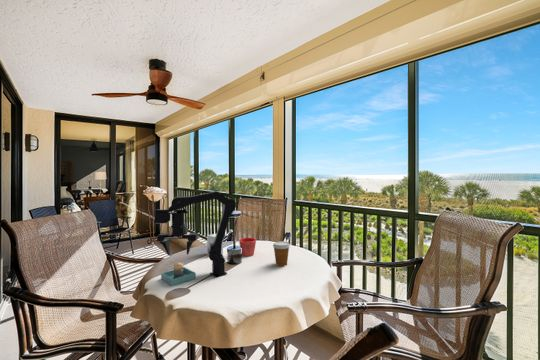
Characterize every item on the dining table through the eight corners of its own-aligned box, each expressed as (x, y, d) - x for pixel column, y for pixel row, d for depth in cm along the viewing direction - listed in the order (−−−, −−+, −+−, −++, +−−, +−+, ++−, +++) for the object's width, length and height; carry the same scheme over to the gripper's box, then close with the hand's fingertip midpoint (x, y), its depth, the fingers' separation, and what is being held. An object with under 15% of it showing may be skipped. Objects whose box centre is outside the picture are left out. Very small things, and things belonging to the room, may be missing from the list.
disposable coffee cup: (270, 266, 138) (270, 244, 138) (276, 260, 147) (276, 240, 147) (286, 268, 135) (286, 246, 135) (292, 262, 144) (291, 242, 144)
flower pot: (255, 257, 154) (255, 241, 154) (238, 257, 154) (238, 241, 154) (256, 252, 165) (256, 237, 165) (240, 252, 165) (240, 237, 165)
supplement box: (214, 257, 156) (214, 236, 156) (206, 254, 160) (206, 235, 160) (223, 254, 161) (223, 234, 161) (215, 252, 166) (215, 233, 166)
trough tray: (195, 278, 121) (195, 272, 121) (172, 286, 113) (172, 279, 113) (184, 272, 129) (184, 266, 129) (161, 279, 121) (161, 273, 121)
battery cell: (185, 277, 121) (184, 263, 121) (176, 280, 118) (176, 265, 118) (180, 275, 124) (180, 261, 124) (172, 278, 121) (172, 263, 121)
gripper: (201, 219, 129) (201, 249, 129) (165, 220, 129) (165, 250, 129) (195, 223, 118) (195, 256, 118) (156, 223, 118) (156, 256, 118)
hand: (178, 254), depth 121 cm, fingers open, 9 cm apart
